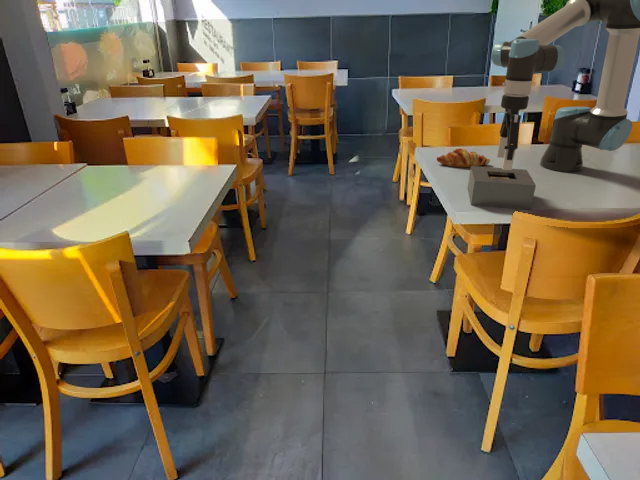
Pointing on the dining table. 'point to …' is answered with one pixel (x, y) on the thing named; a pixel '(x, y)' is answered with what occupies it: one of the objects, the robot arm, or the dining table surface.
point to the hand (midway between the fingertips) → (503, 163)
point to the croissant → (462, 159)
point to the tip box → (501, 187)
